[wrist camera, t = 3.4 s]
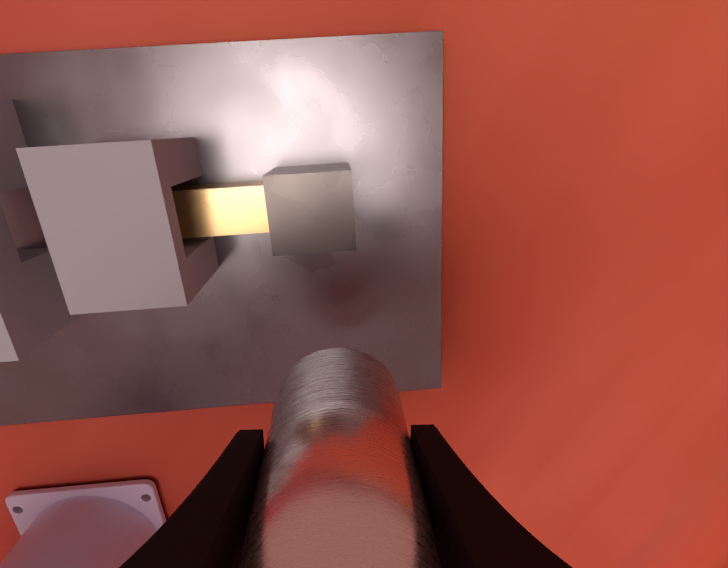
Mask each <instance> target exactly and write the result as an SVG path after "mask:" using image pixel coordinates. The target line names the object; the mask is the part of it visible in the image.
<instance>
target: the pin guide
mask: <svg viewBox="0 0 728 568" xmlns="http://www.w3.org/2000/svg"><path fill="white" fill-rule="evenodd" d="M16 151H17V154H18V157H19V160H20V164H21V167H22V170H23V173H24V176H25V179H26V182H27V185H28V188H29V191H30V194H31V197H32V200H33V203H34V206H35V209H36V212H37V216H38V219H39V222H40V225H41V228H42V231H43V234H44V237H45V240H46V243H47V246H48V249H49V252H50V255H51V258H52V261H53V264H54V267H55V271H56V274H57V277H58V280H59V283H60V286H61V289H62V292H63V295H64V298H65V301H66V304H67V307H68V310H69V313H70V315H75V314H88V313H101V312H114V311H127V310H140V309H153V308H166V307H179V306H188V304H189V303H190V302H191V301H192V300H193V298H194V297H195V296H196V295H197V294H198V292H199V291H200V290H201V289H202V288H203V286H204V285H205V284H206V283H207V282H208V280H209V279H210V278H211V277H212V276H213V274H214V273H215V272H216V271H217V270H218V268H219V266H218V260H217V255H216V249H215V244H214V239H213V236H210V237H196V238H182V237H181V232H180V227H179V223H178V218H177V213H176V208H175V204H174V199H173V194H172V190H171V186H174V185H177V184H179V183H182V182H185V181H188V180H191V179H193V178H196V177H199V176H202V174H201V169H200V163H199V158H198V152H197V147H196V142H195V137H187V138H171V139H155V140H138V141H122V142H106V143H90V144H74V145H58V146H42V147H26V148H16Z"/></svg>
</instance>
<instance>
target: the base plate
mask: <svg viewBox="0 0 728 568" xmlns="http://www.w3.org/2000/svg"><path fill="white" fill-rule="evenodd" d="M0 98H7V99H12V101H13V104H14V107H15V110H16V113H17V116H18V120H19V123H20V126H21V129H22V132H23V135H24V138H25V142H26V145H27V147H42V146H58V145H74V144H90V143H106V142H122V141H138V140H155V139H171V138H187V137H195V142H196V147H197V152H198V158H199V163H200V169H201V174H202V176H199V177H196V178H193V179H191V180H188V181H185V182H182V183H179V184H177V185H174V186H186V185H201V184H216V183H231V182H246V181H262V176H263V175H264V174H266V173H267V172H269V171H270V170H272V169H273V168H275V167H284V166H300V165H315V164H331V163H346V162H348V163H349V165H350V168H351V174H352V189H353V204H354V219H355V234H356V249H357V250H353V251H339V252H325V253H311V254H298V255H284V256H273V254H272V246H271V239H270V232H266V233H252V234H238V235H224V236H213V239H214V244H215V249H216V255H217V260H218V266H219V268H218V270H217V271H216V272H215V273H214V274H213V276H212V277H211V278H210V279H209V280H208V282H207V283H206V284H205V285H204V286H203V288H202V289H201V290H200V291H199V292H198V294H197V295H196V296H195V297H194V298H193V300H192V301H191V302H190V303H189V304H188V306H179V307H166V308H153V309H140V310H127V311H114V312H101V313H88V314H80V316H79V317H78V318H76V319H75V320H74V321H72V322H71V323H69V324H68V325H67V326H65V327H64V328H63V329H61V330H60V331H59V332H57V333H56V334H55V335H53V336H52V337H50V338H49V339H48V340H46V341H45V342H44V343H42V344H41V345H40V346H38V347H37V348H35V349H34V350H33V351H31V352H30V353H29V354H27V355H26V356H25V357H23V358H22V359H20V360H19V361H8V362H0V426H2V425H14V424H25V423H37V422H49V421H60V420H72V419H84V418H95V417H107V416H118V415H130V414H142V413H153V412H165V411H177V410H188V409H200V408H211V407H223V406H235V405H246V404H258V403H270V402H275V400H276V396H277V391H278V388H279V385H280V382H281V381H282V379H283V377H284V375H285V374H286V372H287V371H288V370H289V369H290V368H291V367H292V366H293V365H294V364H295V363H296V362H298V361H299V360H300V359H302V358H304V357H305V356H307V355H309V354H312V353H314V352H317V351H320V350H324V349H330V348H348V349H354V350H358V351H361V352H364V353H366V354H369V355H371V356H372V357H374V358H376V359H377V360H378V361H380V362H381V363H382V364H383V365H384V366H385V367H386V368H387V369H388V370H389V372H390V373H391V374H392V376H393V378H394V380H395V382H396V385H397V388H398V391H409V390H421V389H432V388H441V306H442V141H443V31H428V32H409V33H390V34H371V35H353V36H334V37H315V38H297V39H278V40H259V41H240V42H222V43H203V44H184V45H166V46H147V47H128V48H109V49H91V50H72V51H53V52H34V53H16V54H0ZM0 203H1V206H2V209H3V212H4V215H5V218H6V220H7V223H8V226H9V229H10V232H11V235H12V237H13V240H14V243H15V246H16V249H17V250H22V249H37V248H48V246H47V243H46V240H45V237H44V234H43V231H42V228H41V225H40V222H39V219H38V216H37V212H36V209H35V206H34V203H33V200H32V197H31V194H30V191H29V188H28V187H26V188H20V189H15V190H10V191H5V192H0Z"/></svg>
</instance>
